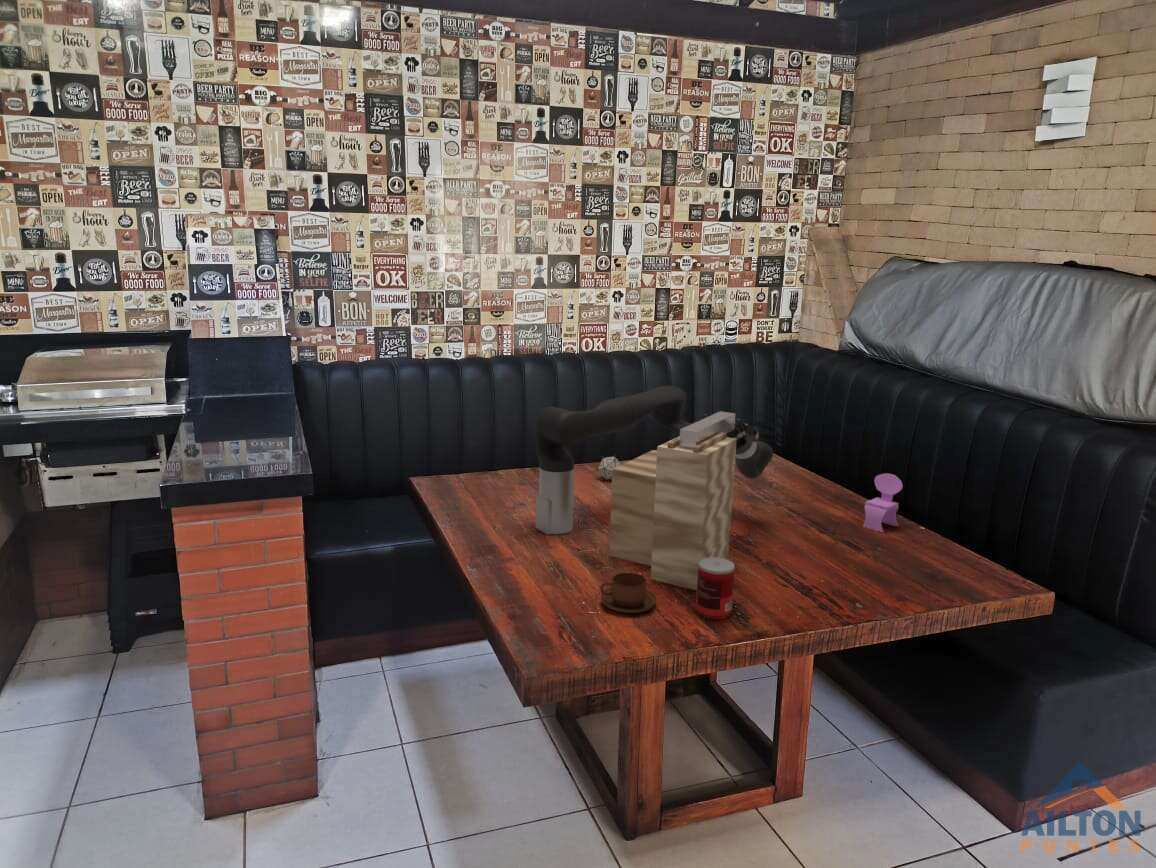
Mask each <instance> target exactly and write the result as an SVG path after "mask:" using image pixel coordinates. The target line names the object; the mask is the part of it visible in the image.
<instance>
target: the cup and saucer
mask: <svg viewBox="0 0 1156 868" xmlns="http://www.w3.org/2000/svg"><path fill="white" fill-rule="evenodd" d="M611 579H612V580H611V581H605V582H603V583H601V585H600V587H599V589H600V590H599V591H600V592H601V595H600V600H601V602H602V603H603V605H605V606H606V608H609V609H610V610H612V611H616V612H620V613H625V614H636V613H642V612H646V611H649V610H650V609H651V608H653V607H654V606H655V604H656V603H657V597H656V595H655V594H654V593H653V592H651V590H647V578H646V577H645V576H643V575H641V574H638V573H634V572H621V573H617V574H615V575H614V576H613V577H612V578H611ZM605 586H610V587H611V588H608V589H606V590H604V587H605Z"/></svg>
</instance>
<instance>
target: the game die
mask: <svg viewBox="0 0 1156 868" xmlns="http://www.w3.org/2000/svg"><path fill="white" fill-rule="evenodd" d="M600 457H601V461H600V463H599V465H598V468H596V469H595V470H594V471H595V472H597V471H598V473H599V474H600V475H601V476H602V477H603V478H604V479H605V480H604V482H607V480H612V469H614V468H616V467H618V466H620V465H622V464H623V463H621V462H620V461H619V460H618V459H617V458H616V454H614V455H613V456H607V457H604V456H603V455H601V456H600Z"/></svg>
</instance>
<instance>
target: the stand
mask: <svg viewBox="0 0 1156 868" xmlns="http://www.w3.org/2000/svg"><path fill="white" fill-rule="evenodd" d="M679 440H680V435H679V436H678V437H675V438H673V439H671V440H669V441H666V442H664V443H662V444H660V445H657V448H656V449H655V450H654V449H652V450H650V451H647V452H645V453H643V454H641V455H639V456H638V457H635V458H633V459H631V460H629V461H626V462H625V463H621V464H622V465H620V466H618V467H616V468H614V469H612V479H611V495H610V498H611V499H610V523H609V546H608V547H609V551H608V556H609V557H614V558H617V559H621V560H625V561H629V562H634V563H638V564H641V565H644V566H645V565H646V566H650V579H651V580H653V581H658V582H662V583H666V584H669V585H674V586H678V587H682V588H684V589H685V588H686V589H689V588H690V589H689V590H694V591H697V580H698V565H699V561H700V560H702V559H704V558H709V557H718V558H723V559H727V560H729V545H730V534H731V533H730V532H731V521H732V519H731V518H732V507H733V504H732V503H733V493H734V478H735V467H736V465H735V464H736V460H735V454H736V440H737V439H735V438H728V437H727V433H725V432H721V433H719V434H718V435H716V436H714V437H712V438H710V439H708V440H706V441H704V442H702V443H700V444H698V445H696V446H694V447H693V449H690V448H684V447H679Z"/></svg>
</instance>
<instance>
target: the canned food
mask: <svg viewBox="0 0 1156 868" xmlns="http://www.w3.org/2000/svg"><path fill="white" fill-rule="evenodd" d="M735 568H736V566H735V563H734V562H733V561H731V560H730V559H728V560H727V559H723V558H718V557H709V558H704V559H702V560H700V561H699V565H698V580H697V590H696V601H695V608H696V613H697V614H698V615H700V614H701V615H703V616H706V617H710V618H722V617H726V616H728V615H729V614H730V615H731V612H732V610H733V609H732V608H733V596H734V585H735V572H736V569H735ZM701 615H700V616H701ZM730 615H729V616H730ZM703 616H702V617H703ZM729 616H728V617H729ZM706 617H705V618H706ZM726 618H727V617H726Z"/></svg>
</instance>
